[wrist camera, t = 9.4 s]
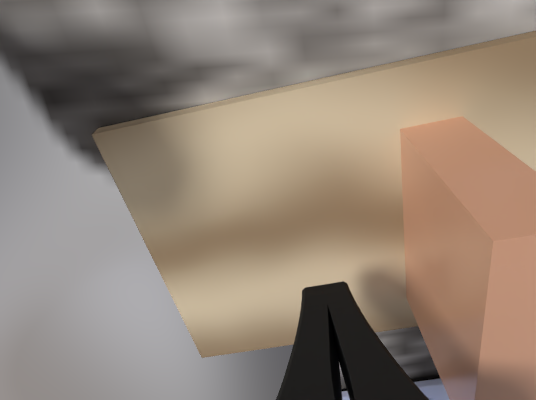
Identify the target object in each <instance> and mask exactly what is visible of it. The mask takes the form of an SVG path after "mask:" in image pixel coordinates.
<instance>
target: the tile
mask: <svg viewBox="0 0 536 400" xmlns="http://www.w3.org/2000/svg"><path fill="white" fill-rule="evenodd" d="M400 142H401V169H402V195H403V222H404V248H405V274H406V298H407V301H408V303H409V305H410V308H411V310H412V312H413V315H414V317H415V319H416V322H417V324H418V326H419V329H420V331H421V334H422V336H423V338H424V341H425V343H426V345H427V348H428V350H429V352H430V355H431V357H432V359H433V362H434V364H435V366H436V369H437V371H438V374H439V376H440V378H441V381H442V383H443V385H444V388H445V390H446V392H447V395H448V397H449V399H450V400H536V171H534V170H533V169H532V168H530V167H529V166H528V165H526V164H525V163H524V162H522V161H521V160H520V159H519V158H517V157H516V156H515V155H513V154H512V153H511V152H509V151H508V150H507V149H505V148H504V147H503V146H501V145H500V144H499V143H497V142H496V141H495V140H493V139H492V138H491V137H489V136H488V135H487V134H485V133H484V132H483V131H482V130H480V129H479V128H478V127H476V126H475V125H474V124H472V123H471V122H470V121H468V120H467V119H466V118H464V117H463V116H461V117H456V118H451V119H446V120H441V121H436V122H432V123H427V124H422V125H417V126H412V127H407V128H402V129H400Z"/></svg>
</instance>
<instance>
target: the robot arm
mask: <svg viewBox="0 0 536 400" xmlns="http://www.w3.org/2000/svg"><path fill="white" fill-rule="evenodd" d="M339 363H340V366H341V370H342V374H343V377H344V381H345V384H346V388H347V391H342V390H341V379H340V369H339ZM276 400H450V399H449V397H448V395H447V392H446V390H445V388H444V385H443V383H442V381H441V378H440V379H433V380H425V381H417V382H413V381H412V380H411V379H410V378H409V376H408V375H407V374H406V373H405V372H404V370H403V369H402V368H401V367H400V365H399V364H398V363H397V362H396V360H395V359H394V358H393V357H392V355H391V354H390V353H389V351H388V350H387V349H386V347H385V346H384V345H383V343H382V342H381V341H380V339H379V338H378V336H377V335H376V333H375V332H374V330H373V329H372V327H371V326H370V325H369V323H368V321H367V320H366V318H365V317H364V315H363V313H362V312H361V310H360V308H359V307H358V305H357V303H356V301H355V299H354V297H353V295H352V293H351V291H350V289H349V286H348V284H347V283H346V282H344V281H342V282H336V283H330V284H324V285H318V286H312V287H306V288H304V289H303V290H302V301H301V310H300V317H299V322H298V327H297V332H296V336H295V340H294V345H293V349H292V353H291V356H290V360H289V363H288V366H287V369H286V373H285V376H284V379H283V382H282V385H281V388H280V391H279V393H278V396H277V399H276Z"/></svg>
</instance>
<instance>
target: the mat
mask: <svg viewBox="0 0 536 400" xmlns="http://www.w3.org/2000/svg"><path fill="white" fill-rule="evenodd" d="M461 116H463V117H464V118H466V119H467V120H468V121H470V122H471V123H472V124H474V125H475V126H476V127H478V128H479V129H480V130H482V131H483V132H484V133H485V134H487V135H488V136H489V137H491V138H492V139H493V140H495V141H496V142H497V143H499V144H500V145H501V146H503V147H504V148H505V149H507V150H508V151H509V152H511V153H512V154H513V155H515V156H516V157H517V158H519V159H520V160H521V161H522V162H524V163H525V164H526V165H528V166H529V167H530V168H532V169H533V170H534V171H536V31H533V32H528V33H524V34H519V35H515V36H510V37H506V38H501V39H497V40H492V41H488V42H483V43H479V44H474V45H470V46H465V47H461V48H456V49H452V50H447V51H443V52H438V53H434V54H429V55H425V56H420V57H416V58H411V59H407V60H402V61H398V62H393V63H389V64H384V65H380V66H375V67H371V68H366V69H362V70H357V71H353V72H348V73H344V74H339V75H335V76H330V77H326V78H321V79H317V80H312V81H308V82H303V83H299V84H294V85H290V86H285V87H281V88H276V89H272V90H267V91H263V92H258V93H254V94H249V95H245V96H240V97H236V98H231V99H227V100H222V101H218V102H213V103H209V104H204V105H200V106H195V107H191V108H186V109H182V110H177V111H173V112H168V113H164V114H159V115H155V116H150V117H146V118H141V119H137V120H132V121H128V122H123V123H119V124H114V125H110V126H105V127H101V128H98V129H97V130H96V131H95V132H94V133H93V134H92V137H93V139H94V141H95V143H96V145H97V147H98V149H99V151H100V153H101V155H102V157H103V159H104V161H105V163H106V165H107V167H108V169H109V171H110V173H111V175H112V177H113V179H114V181H115V183H116V185H117V187H118V189H119V191H120V193H121V195H122V197H123V199H124V201H125V203H126V205H127V207H128V209H129V211H130V213H131V215H132V217H133V219H134V221H135V223H136V226H137V228H138V230H139V232H140V234H141V236H142V237H143V240H144V242H145V244H146V246H147V248H148V250H149V252H150V254H151V256H152V258H153V260H154V262H155V264H156V266H157V268H158V270H159V272H160V274H161V276H162V278H163V280H164V282H165V284H166V286H167V288H168V290H169V292H170V294H171V296H172V298H173V300H174V302H175V304H176V306H177V308H178V310H179V312H180V314H181V316H182V318H183V320H184V322H185V324H186V326H187V329H188V331H189V333H190V335H191V336H192V339H193V341H194V343H195V344H196V347H197V349H198V351H199V353H200V355H201V357H202V358H204V357H211V356H217V355H224V354H231V353H238V352H245V351H252V350H259V349H265V348H272V347H279V346H286V345H292V344H294V340H295V336H296V332H297V327H298V322H299V317H300V310H301V301H302V290H303V289H304V288H306V287H312V286H318V285H324V284H330V283H336V282H342V281H344V282H346V283H347V284H348V286H349V289H350V291H351V293H352V295H353V297H354V299H355V301H356V303H357V305H358V307H359V308H360V310H361V312H362V313H363V315H364V317H365V318H366V320H367V321H368V323H369V325H370V326H371V327H372V329H373V330H374V332H382V331H389V330H395V329H402V328H409V327H416V326H418V324H417V322H416V319H415V317H414V315H413V312H412V310H411V308H410V305H409V303H408V301H407V298H406V274H405V248H404V222H403V195H402V169H401V142H400V129H402V128H407V127H412V126H417V125H422V124H427V123H432V122H436V121H441V120H446V119H451V118H456V117H461Z"/></svg>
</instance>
